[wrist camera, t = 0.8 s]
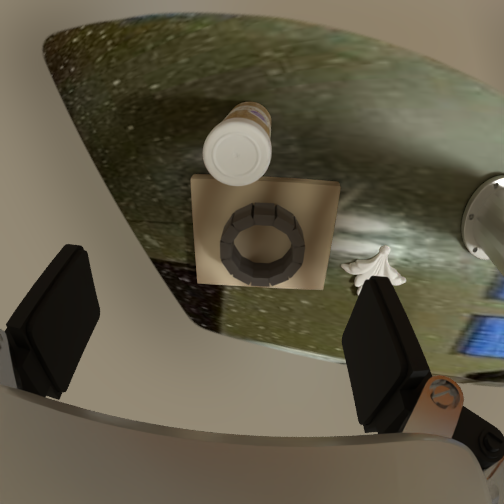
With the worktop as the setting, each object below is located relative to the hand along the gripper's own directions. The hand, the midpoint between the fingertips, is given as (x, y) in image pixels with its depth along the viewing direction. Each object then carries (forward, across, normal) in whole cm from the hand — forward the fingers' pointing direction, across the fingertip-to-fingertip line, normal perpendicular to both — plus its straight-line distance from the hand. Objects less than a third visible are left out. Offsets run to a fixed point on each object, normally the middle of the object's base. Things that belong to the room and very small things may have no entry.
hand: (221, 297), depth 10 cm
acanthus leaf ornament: (+26, -19, +16) cm, 35 cm away
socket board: (+26, -3, +12) cm, 29 cm away
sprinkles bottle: (+26, 0, -1) cm, 26 cm away
